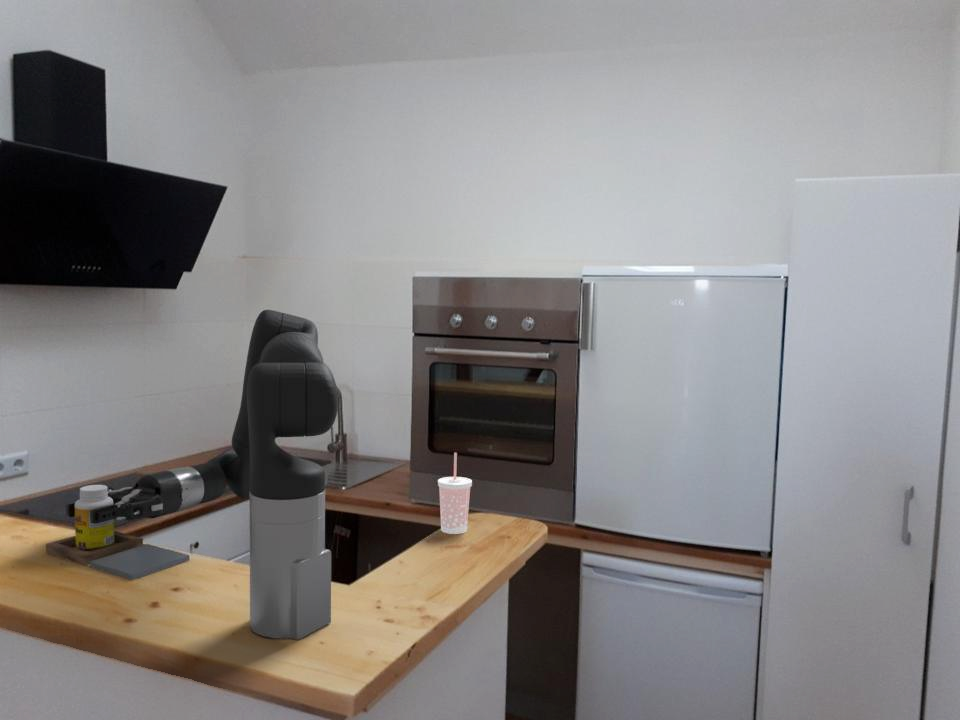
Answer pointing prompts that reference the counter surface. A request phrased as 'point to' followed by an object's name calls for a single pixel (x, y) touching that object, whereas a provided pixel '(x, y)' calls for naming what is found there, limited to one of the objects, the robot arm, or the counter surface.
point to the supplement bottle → (86, 531)
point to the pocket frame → (68, 551)
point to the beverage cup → (454, 502)
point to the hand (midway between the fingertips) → (79, 513)
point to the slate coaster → (139, 561)
